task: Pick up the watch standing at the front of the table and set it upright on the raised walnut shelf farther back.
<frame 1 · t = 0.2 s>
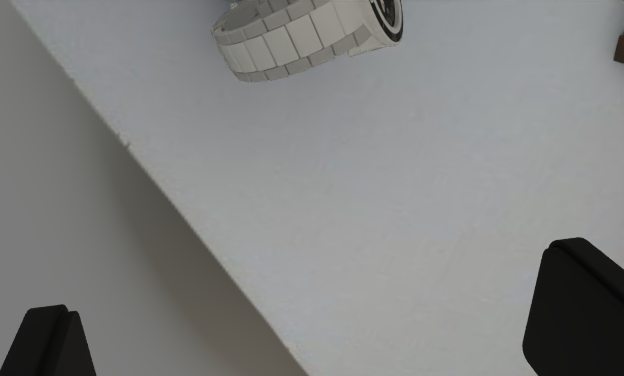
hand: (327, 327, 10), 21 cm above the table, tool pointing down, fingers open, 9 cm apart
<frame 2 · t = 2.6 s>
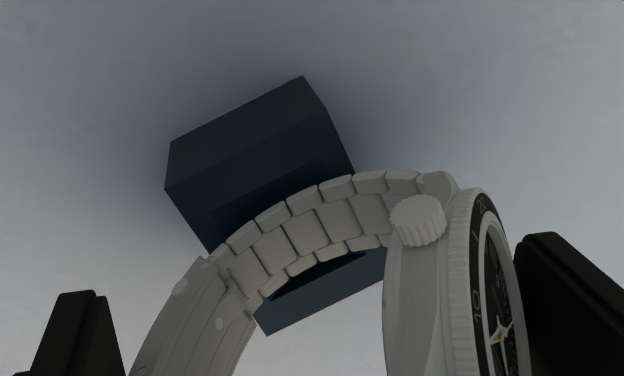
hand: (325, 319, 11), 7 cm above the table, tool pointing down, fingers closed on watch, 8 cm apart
watch: (278, 177, 16), on the table, touching gripper
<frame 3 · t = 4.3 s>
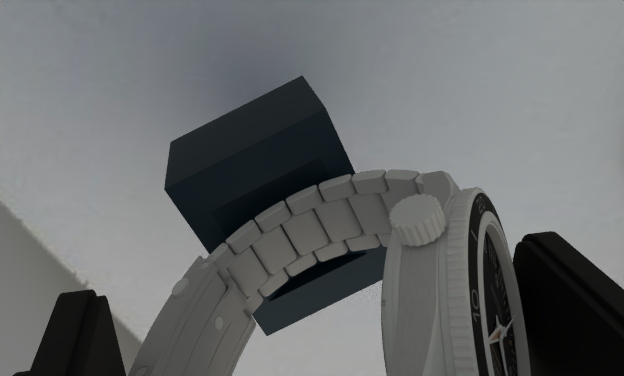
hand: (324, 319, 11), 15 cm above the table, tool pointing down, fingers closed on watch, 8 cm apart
watch: (278, 177, 16), point 8 cm above the table, touching gripper
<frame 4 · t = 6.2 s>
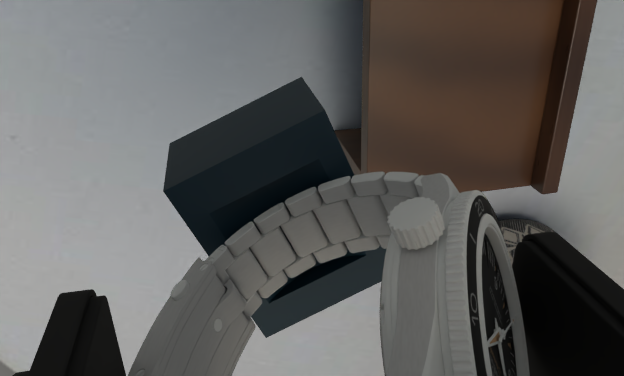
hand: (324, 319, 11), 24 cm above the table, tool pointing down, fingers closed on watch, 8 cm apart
shelf: (415, 28, 33), on the table
watch: (277, 178, 16), point 17 cm above the table, touching gripper
planter: (488, 275, 44), on the table
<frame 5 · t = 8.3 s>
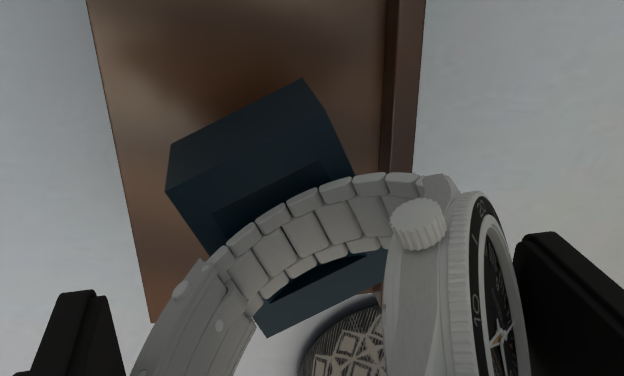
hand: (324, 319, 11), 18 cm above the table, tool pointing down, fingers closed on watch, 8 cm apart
shelf: (249, 85, 27), on the table
watch: (278, 179, 16), point 12 cm above the table, touching gripper
planter: (378, 359, 37), on the table
when the fingers open (15 cm above the table, at t = 9.9 s): watch stays where it is, resting on shelf.
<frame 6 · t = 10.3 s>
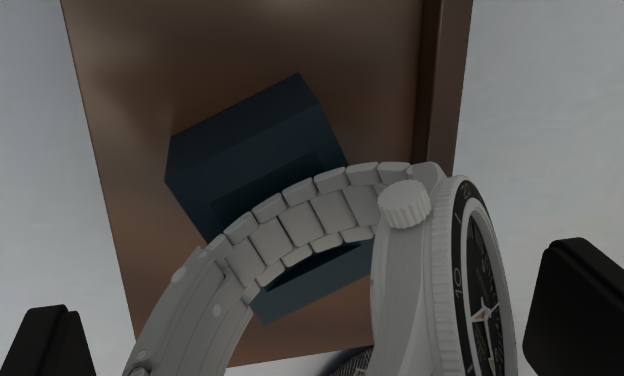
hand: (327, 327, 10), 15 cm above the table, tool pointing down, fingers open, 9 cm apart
shelf: (255, 104, 24), on the table
watch: (275, 172, 17), point 8 cm above the table, touching shelf
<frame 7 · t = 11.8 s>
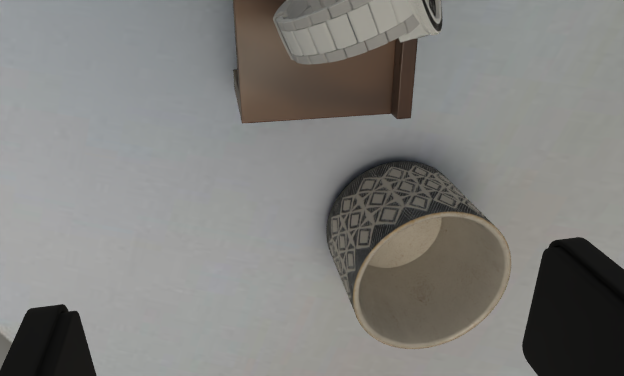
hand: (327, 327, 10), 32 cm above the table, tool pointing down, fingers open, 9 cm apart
planter: (388, 217, 48), on the table
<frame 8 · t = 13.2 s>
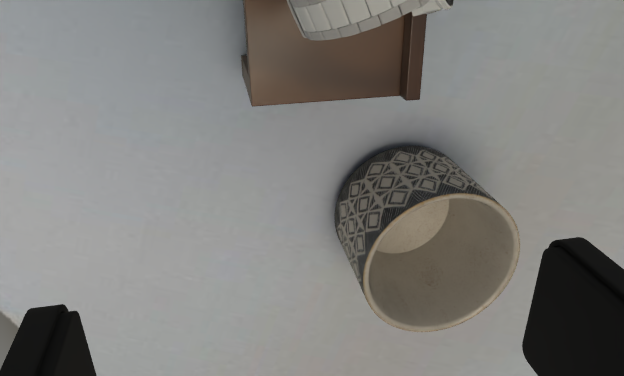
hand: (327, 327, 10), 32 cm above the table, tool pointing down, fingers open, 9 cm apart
planter: (396, 202, 48), on the table
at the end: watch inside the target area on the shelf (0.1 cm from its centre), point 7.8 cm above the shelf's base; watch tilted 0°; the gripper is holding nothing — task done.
